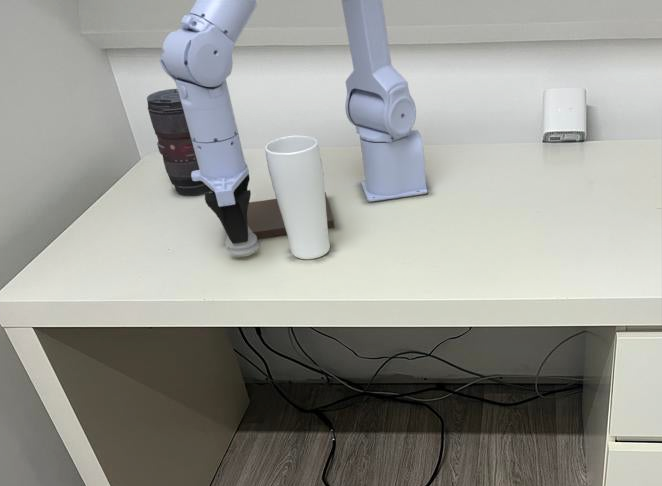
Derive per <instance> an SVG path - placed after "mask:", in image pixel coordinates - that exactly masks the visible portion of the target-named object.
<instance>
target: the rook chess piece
mask: <svg viewBox="0 0 662 486" xmlns="http://www.w3.org/2000/svg"><path fill="white" fill-rule="evenodd" d="M224 243H225V246H226V249H225V250H226V252H227V253H228V254H229V255H230V256H233V257H240V258H241V257H242V258H243V257H248V256H250V255H253V254H254V253H256V252H257V251H258V249H259V248H260V242H259V241H258V239H257V236H256V235H255V234H254V233H252V230H251V229H250V228H249V226H248V241H247V242H242V243H235V244H232V242H231V241H230V239H229V237H228V235H227V234H226V237H225V241H224Z"/></svg>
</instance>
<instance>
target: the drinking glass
mask: <svg viewBox="0 0 662 486" xmlns="http://www.w3.org/2000/svg"><path fill="white" fill-rule="evenodd" d="M264 152H265V159H266V163H267V170H268V174H269V177H270V182H271V185H272V189H273V192H274V196H275V199H277V202H278V206H279V209H280V212H281V215H282V219H283V222H284V225H285V229H286V232H287V235H286V236H287V239H288V243H289V249H290V252H291V254H292V256H294V257H295V258H298V259H302V260H313V259H318V258H321V257H323V256H324V255H326V254H328V252H329V251H330V248H331V242H330V237H329V236H330V235H329V229H328V226H327V213H326V201H325V192H326V190H325V189H326V188H325V176H324V168H323V162H322V161H323V160H322V156H321V151H320V147H319V142H318V140H317V139H316V138H314V137H313V136H308V135H289V136H282V137H279V138H275V139H273V140H270V141H269V142H268V143H267V144H266V145H265V146H264Z"/></svg>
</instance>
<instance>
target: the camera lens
mask: <svg viewBox="0 0 662 486" xmlns="http://www.w3.org/2000/svg"><path fill="white" fill-rule="evenodd" d="M146 101H147V102H146V103H147V110H148V114H149V118H150V122H151V125H152V128H153V131H154V134H155V135H156V139H157V142H156V146H157V149H158V152H159V153H160V155H161V156H162V161H163V163H164V168H165V171H166V174H167V176H168V178H169V181H170V183H171V185H173V186H174V188H175V191H176V193H177V194H178V195H180V196H185V197H192V196H200V195H205V194H206V193H211V191H210V190H209V188H208V187H207V186H206V184H205V183H203V182H202V181H193V180H192V177H191V173H192V172H193V171H196V170H200V169H199V166H198V162H197V158H196V154H195V151H194V147H193V143H192V140H191V136H190V132H189V129H188V125H187V121H186V118H185V114H184V110H183V107H182V103H181V99H180V95H179V92H178V90H177V88H170V89H163V90H158V91H155V92H152V93H150V94H149V95H148V96H146Z"/></svg>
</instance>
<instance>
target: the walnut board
mask: <svg viewBox="0 0 662 486" xmlns="http://www.w3.org/2000/svg"><path fill="white" fill-rule="evenodd" d="M325 201H326V213H327V226H328V230H329V229H335V228H336V226H335V220H334V217H333V213H332V209H331V205H330V203H329V199H328V196H327V192H326V191H325ZM247 222H248V226H249V228H250V229H251V230H252V233H254V234H255V235H256V236H257V240H261V239H270V238H276V237H283V236H287V232H286V229H285V225H284V222H283V219H282V215H281V212H280V209H279V206H278V202H277V199H276V198H272V199H264V200H258V201H249V204H248V209H247Z"/></svg>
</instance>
